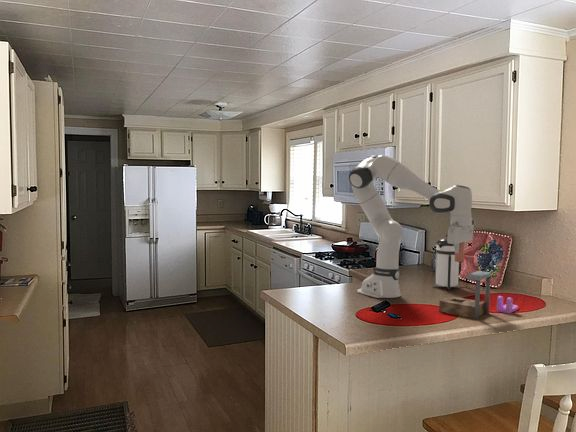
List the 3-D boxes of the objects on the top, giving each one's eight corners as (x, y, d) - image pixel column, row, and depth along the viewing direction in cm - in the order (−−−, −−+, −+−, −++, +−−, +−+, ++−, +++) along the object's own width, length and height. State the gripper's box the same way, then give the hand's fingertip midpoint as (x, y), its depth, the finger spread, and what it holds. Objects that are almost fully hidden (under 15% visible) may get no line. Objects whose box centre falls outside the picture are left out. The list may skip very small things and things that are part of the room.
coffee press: (464, 291, 269) (466, 235, 267) (433, 289, 272) (435, 234, 270) (460, 284, 286) (462, 232, 284) (431, 283, 289) (432, 231, 287)
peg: (461, 262, 224) (462, 242, 223) (453, 261, 226) (453, 241, 226) (465, 261, 227) (466, 241, 226) (456, 260, 229) (457, 240, 229)
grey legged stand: (464, 317, 219) (465, 275, 218) (476, 310, 230) (478, 270, 228) (478, 319, 215) (479, 277, 214) (489, 313, 226) (491, 272, 224)
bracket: (509, 313, 226) (509, 298, 226) (496, 311, 230) (497, 296, 229) (519, 308, 235) (520, 294, 235) (507, 306, 239) (508, 292, 239)
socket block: (439, 311, 228) (439, 300, 227) (450, 306, 237) (450, 296, 236) (474, 318, 217) (474, 307, 217) (484, 313, 226) (484, 302, 226)
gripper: (458, 223, 215) (456, 255, 216) (476, 220, 231) (475, 250, 232) (444, 222, 220) (442, 253, 221) (462, 219, 235) (461, 249, 236)
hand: (459, 252), depth 226 cm, fingers closed on peg, 4 cm apart
